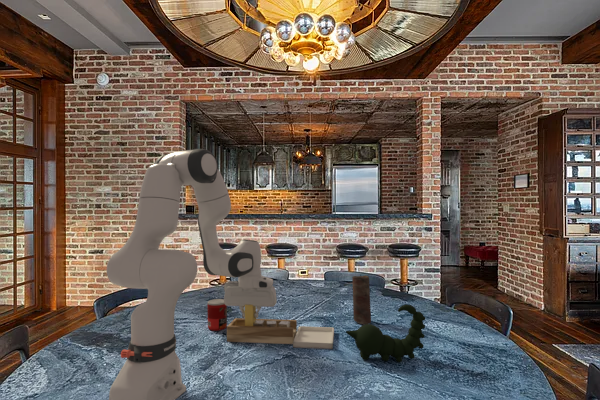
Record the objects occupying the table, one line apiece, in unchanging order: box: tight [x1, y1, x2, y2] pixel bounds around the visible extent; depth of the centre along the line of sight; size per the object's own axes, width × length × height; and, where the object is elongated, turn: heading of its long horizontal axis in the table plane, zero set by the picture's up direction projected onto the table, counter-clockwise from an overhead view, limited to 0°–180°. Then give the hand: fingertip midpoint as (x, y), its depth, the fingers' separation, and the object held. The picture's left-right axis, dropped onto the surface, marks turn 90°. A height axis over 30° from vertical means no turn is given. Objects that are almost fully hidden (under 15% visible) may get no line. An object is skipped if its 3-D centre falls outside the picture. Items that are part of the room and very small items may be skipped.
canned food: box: [206, 298, 228, 332], centre depth 146 cm, size 8×8×11 cm
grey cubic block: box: [253, 320, 264, 327], centre depth 135 cm, size 4×4×4 cm
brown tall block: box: [351, 275, 372, 326], centre depth 151 cm, size 8×7×20 cm
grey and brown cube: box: [278, 321, 290, 327], centre depth 134 cm, size 4×4×4 cm
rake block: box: [244, 305, 257, 326], centre depth 136 cm, size 5×3×10 cm, turn 173°
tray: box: [292, 325, 335, 350], centre depth 132 cm, size 16×14×2 cm
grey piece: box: [267, 321, 276, 327], centre depth 134 cm, size 4×4×4 cm
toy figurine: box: [345, 304, 426, 364], centre depth 115 cm, size 9×19×25 cm
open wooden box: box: [226, 317, 298, 345], centre depth 135 cm, size 10×25×6 cm, turn 83°
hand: (250, 317), depth 135 cm, fingers closed on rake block, 3 cm apart
